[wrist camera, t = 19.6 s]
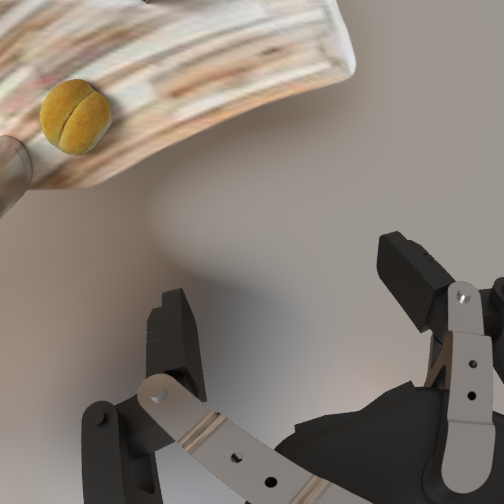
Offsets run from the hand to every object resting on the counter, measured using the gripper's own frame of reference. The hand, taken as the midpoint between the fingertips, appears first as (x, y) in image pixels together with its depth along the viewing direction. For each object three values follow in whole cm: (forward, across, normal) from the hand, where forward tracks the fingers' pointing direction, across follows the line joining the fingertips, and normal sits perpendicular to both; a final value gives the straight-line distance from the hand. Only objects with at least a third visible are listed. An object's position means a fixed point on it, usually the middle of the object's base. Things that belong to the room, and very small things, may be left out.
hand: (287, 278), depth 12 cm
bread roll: (+28, +15, -6) cm, 33 cm away
